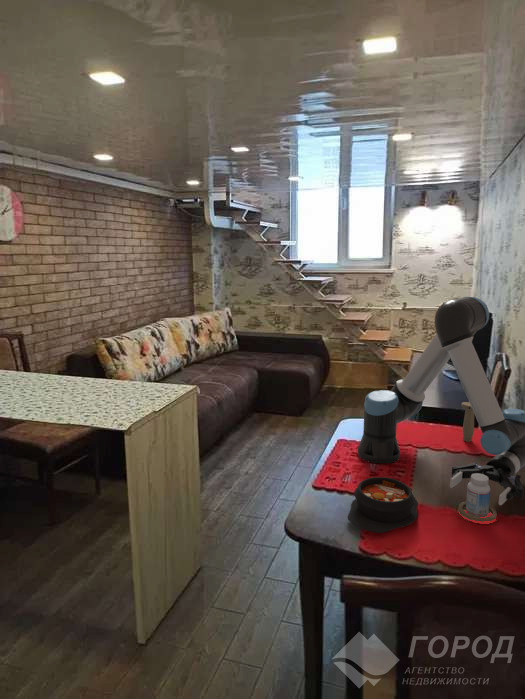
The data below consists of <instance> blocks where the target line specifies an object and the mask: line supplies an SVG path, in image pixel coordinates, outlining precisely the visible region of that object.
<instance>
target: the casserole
mask: <svg viewBox="0 0 525 699" xmlns="http://www.w3.org/2000/svg"><path fill="white" fill-rule="evenodd" d="M353 496H354V500H352V502H351V504H350V510H349V512H348V514H347V516H346V517H347V519H348V521H349V522H350V523H351V524H352V525H354V526H356V527H358V528H360V529H362V530H364V531H366V532H371V533H372V532H373V533H376V534H383V533H387V532H390V531H392V530H395V529H399V528H404V527H408V526H410V525H412V524H413V523H414V522H416V520H417V519H418V506H419V502H418V501H417V499H416V497H415V494H414V493H413V491H412V489H411V487H410V486H408V485H407V484H406V483H404V482H403V481H400V480H397V479H395V478H390V477H385V476H384V477H383V476H382V477H381V476H377V477H376V476H374V477H369V478H366V479H363V480H362V481H360V482H359V484H358V485H357V487H356V488H355V490H354V492H353Z"/></svg>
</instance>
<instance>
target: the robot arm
mask: <svg viewBox="0 0 525 699" xmlns="http://www.w3.org/2000/svg"><path fill="white" fill-rule="evenodd" d="M489 320H490V312H489V307H488V306H487V304H486V303H485V302H484V301H483V300H482V299H480V298H478V297H476V296H464V297H460V298H456V299H451V300H447V301H445V302H443V303H442V304H441V305H440V306H439V307H438V308H437V309H436V312H435V315H434V328H435V333H436V334H435V335H434V336H433V338H432V339H431V340H430V342H429V343H428V345H427V346H426V348H424V350H423V352H422V353H421V355H420V356H419V358H418V359H417V361H415V363H414V364H413V366H412V367H411V369H409V372H407V374H406V376H405V377H404V378H399V379H398V380H397V381H396V383H394V386H393V387H392V388H391V389H390V390H387V389H386V390H385V389H380V390H374V391H370V392H369V393H367V395H366V396H365V397H364V404H363V408H364V409H363V434H362V436H361V439H360V442H359V444H358V448H357V455H359V456H358V457H359V458H360V457H361V458H362V459H361V458H360V459H361V460H363V459H364V460H363V461H365V462H367V461H369V462H368V463H371V462H373V463H372V464H376V463H380V464H379V465H382V464H381V463H390V464H393V463H392V462H394V463H396V462H395V461H397V460H398V459H399V458H400V459H401V449H400V446H399V442H398V439H397V429H398V428H397V425H398V424H399V423H401V422H404V421H405V420H407V419H409V418H412V417H414V416H416V415H417V414H418V413H419V411H420V410H422V407H423V404H424V400H425V399H426V393H425V392H426V391H427V390H428V389H429V387H430V386H431V384H432V383H433V381H434V380H435V379H436V378H437V377H438V375H439V374H440V373H441V371H442V370H443V368H444V367H445V366H446V364H447V363H448V361H450V360H451V363H452V365H453V368H454V370H455V372H456V374H457V376H458V379H459V382H460V383H461V386H462V388H463V391H464V393H465V395H466V397H467V400H468V402H470V405H471V407H472V409H473V412H474V417H475V419H476V421H477V423H478V426H479V428H480V431H481V433H482V434H481V435H480V446H481V447H482V449H483V450H484V451H485V452H486V453H487V454H490V455H492V456H493V457H492V458H490V459H489V460H488V462H487V463H486V465H482V466H481V465H479V463H478V462H477V461H474V462H472V463H468V464H462V465H457V466H452V467H451V477H450V482H449V488H450V489H453V488H454V487H455V486H457V485H458V484H460V482H461V481H463V479H471V475H472V474H474V473H480V474H484V475H486V476H487V477H488V478H489V480H490V481H493V482H495V483H498V484H499V485H500V487H502V488H504V490H503V491H502V492H501V493H500V494H499V496H498V497H499V498H498V505H499V506H502V505H504V504H505V502H507V501H508V500H509V501H511V500H512V499H514V498H515V497H517V498H518V499H521V500H523V499H524V493H525V489H524V486H523V484H522V480H521V479H522V475H519V474H517V473H518V472H519V471H520V470H521V469H522V468H524V467H525V410H522V409H521V408H520V409H519V408H505V409H503V410H502V409H501V406H500V405H499V402H498V400H497V397H496V395H495V392H494V390H493V389H492V386H491V383H490V382H489V379H488V377H487V375H486V372H485V370H484V367H483V365H482V363H481V362H482V361H480V358H479V355H478V353H477V351H476V349H475V346H474V344H473V339H474V335H475V334H476V332H478V331H480V330H482V329H483V328H484V327H485V326H486V325H487V324H488V322H489ZM400 459H399V460H400ZM399 460H398V461H399ZM398 461H397V462H398Z"/></svg>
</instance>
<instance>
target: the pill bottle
mask: <svg viewBox="0 0 525 699" xmlns="http://www.w3.org/2000/svg"><path fill="white" fill-rule="evenodd" d="M490 498H491V487H490V485H489V478H488V477H487V476H486V475H484V474H480V473H474V474H472V475H471V478H470V481H469V482H468V483H467V486H466V499H465V501H466V511H467V513H468V514H470V515H472V516H476V517H485V516H487V515H488V511H489V506H490Z"/></svg>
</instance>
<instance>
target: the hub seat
mask: <svg viewBox="0 0 525 699" xmlns="http://www.w3.org/2000/svg"><path fill="white" fill-rule="evenodd" d="M458 504H459V505H458V508H457V512H458V511H459V512H460V514H461V515H462V516H464V517H466V518H468V519H470V520H475V521H481V522H483V521H492V520H494V519H496V516H497V515H498V512H497V510H496V509H495V508H494V507H493V506H491V505H489V511H488V513H490V512H491V513H492V514H493V515H492V516H490V517H486V518H480V517H476V516H472V515H470V514H468V513H466V512H465V511H464V510H466V500H465V501H462V502H459V503H458ZM497 517H498V516H497Z"/></svg>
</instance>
